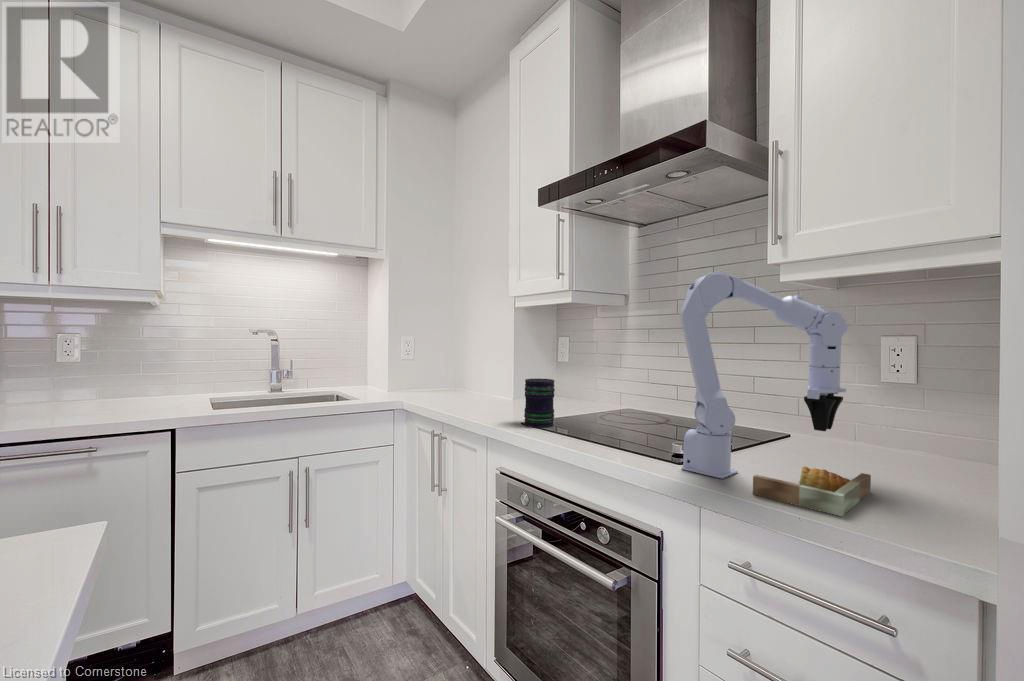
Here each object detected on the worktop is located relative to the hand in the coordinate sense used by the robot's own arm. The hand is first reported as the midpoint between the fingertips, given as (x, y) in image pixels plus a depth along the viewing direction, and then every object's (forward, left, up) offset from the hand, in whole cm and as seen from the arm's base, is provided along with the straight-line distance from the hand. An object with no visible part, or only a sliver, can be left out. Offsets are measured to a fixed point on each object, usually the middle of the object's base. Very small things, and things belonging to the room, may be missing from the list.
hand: (822, 429), depth 104 cm
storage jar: (-79, -8, -11) cm, 80 cm away
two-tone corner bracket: (+2, -13, -10) cm, 17 cm away
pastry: (+2, -8, -11) cm, 13 cm away
